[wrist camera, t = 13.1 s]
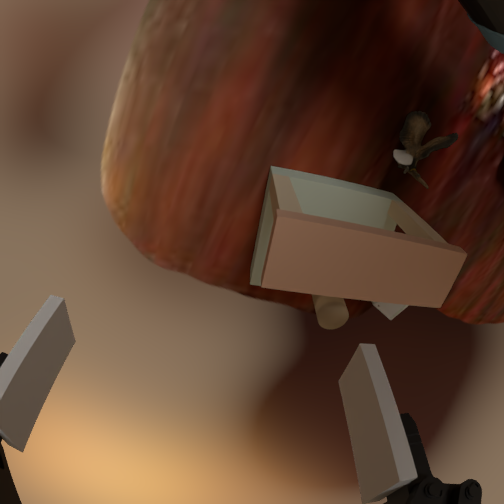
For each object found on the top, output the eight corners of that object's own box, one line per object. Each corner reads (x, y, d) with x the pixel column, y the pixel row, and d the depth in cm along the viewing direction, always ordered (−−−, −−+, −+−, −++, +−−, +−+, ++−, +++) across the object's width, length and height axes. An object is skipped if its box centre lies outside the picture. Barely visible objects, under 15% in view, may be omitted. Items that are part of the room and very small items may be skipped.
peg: (305, 243, 45) (323, 303, 32) (328, 246, 45) (353, 307, 33) (299, 264, 46) (314, 327, 34) (322, 267, 47) (342, 330, 34)
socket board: (270, 165, 39) (272, 173, 36) (392, 192, 40) (404, 202, 37) (250, 269, 47) (249, 284, 43) (359, 284, 48) (366, 299, 45)
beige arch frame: (268, 168, 35) (277, 216, 23) (408, 200, 37) (467, 254, 24) (259, 218, 38) (261, 287, 26) (392, 242, 40) (440, 308, 27)
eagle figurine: (429, 184, 38) (459, 135, 33) (426, 193, 33) (462, 136, 28) (387, 154, 41) (415, 104, 35) (377, 158, 35) (410, 99, 30)
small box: (381, 303, 50) (390, 321, 46) (363, 286, 49) (372, 305, 44) (406, 282, 48) (417, 300, 44) (389, 264, 46) (400, 281, 42)
